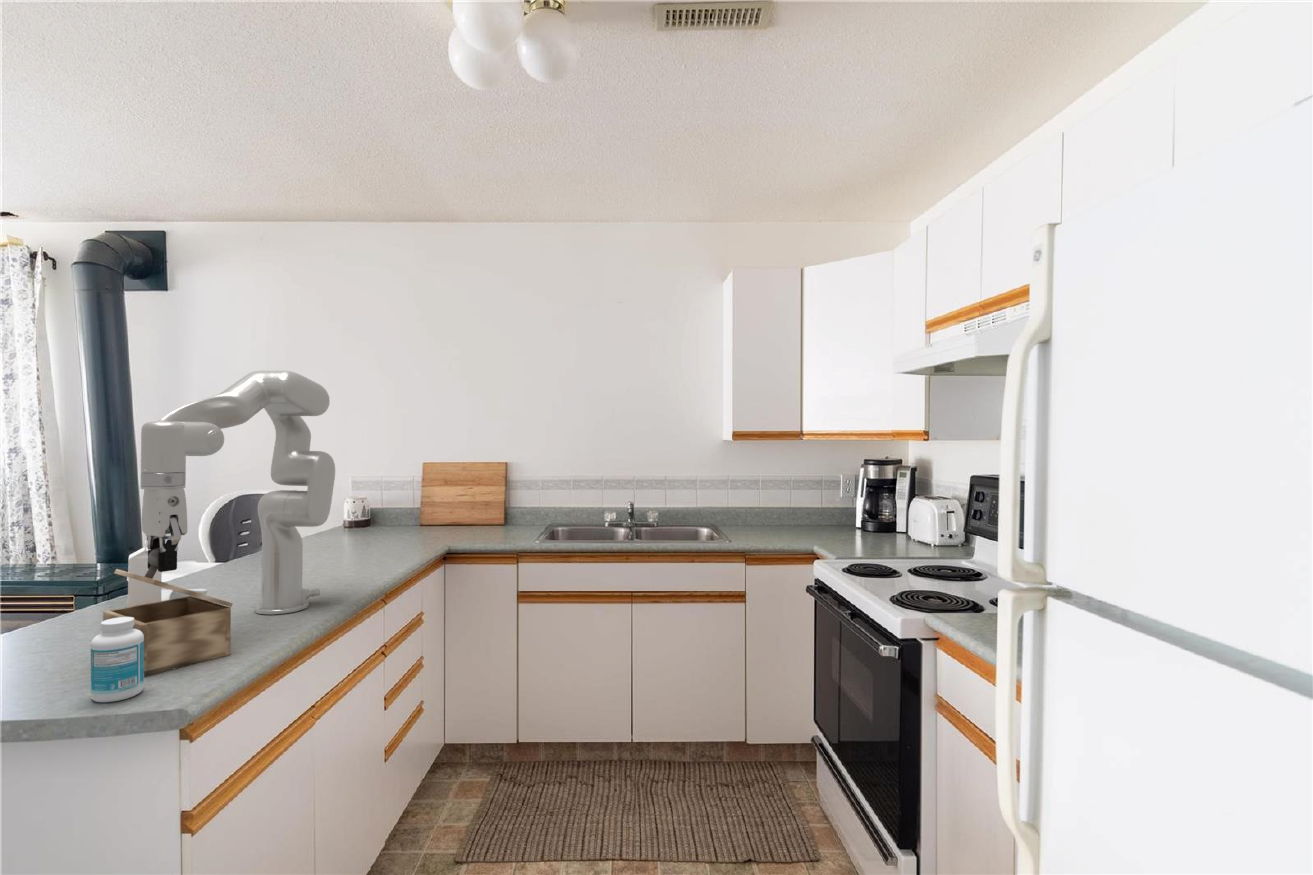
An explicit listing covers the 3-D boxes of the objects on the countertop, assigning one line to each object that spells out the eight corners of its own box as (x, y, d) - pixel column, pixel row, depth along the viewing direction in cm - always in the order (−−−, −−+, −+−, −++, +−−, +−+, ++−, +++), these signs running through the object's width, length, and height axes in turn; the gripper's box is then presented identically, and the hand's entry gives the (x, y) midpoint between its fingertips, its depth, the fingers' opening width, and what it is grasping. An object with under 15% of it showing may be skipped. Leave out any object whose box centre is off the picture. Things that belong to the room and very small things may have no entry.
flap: (190, 595, 151) (206, 564, 154) (231, 607, 141) (248, 573, 144) (113, 573, 139) (133, 540, 142) (152, 584, 129) (173, 548, 132)
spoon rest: (162, 602, 185) (162, 576, 185) (212, 599, 189) (212, 574, 189) (130, 625, 163) (130, 596, 163) (187, 621, 167) (188, 592, 167)
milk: (127, 644, 148) (127, 544, 148) (128, 637, 153) (128, 541, 152) (161, 639, 151) (161, 542, 151) (161, 632, 156) (161, 538, 156)
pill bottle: (110, 688, 122) (111, 614, 122) (153, 687, 123) (154, 614, 123) (79, 704, 115) (79, 626, 115) (124, 703, 115) (125, 625, 115)
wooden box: (190, 640, 151) (190, 595, 151) (230, 654, 141) (230, 607, 141) (102, 659, 137) (103, 611, 137) (140, 677, 128) (140, 625, 128)
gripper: (202, 482, 137) (201, 571, 137) (166, 478, 146) (165, 562, 146) (160, 483, 131) (158, 577, 131) (124, 480, 140) (123, 567, 140)
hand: (162, 568), depth 138 cm, fingers closed on flap, 4 cm apart
